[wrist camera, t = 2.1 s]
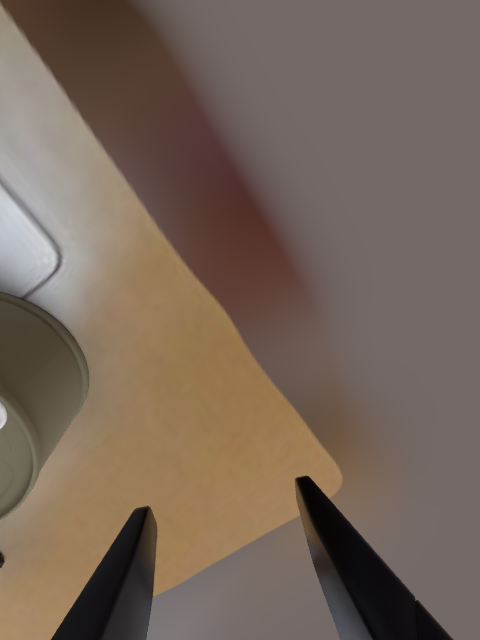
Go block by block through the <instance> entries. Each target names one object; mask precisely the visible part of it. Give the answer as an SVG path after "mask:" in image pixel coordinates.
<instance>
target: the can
mask: <svg viewBox="0 0 480 640" xmlns="http://www.w3.org/2000/svg"><path fill="white" fill-rule="evenodd" d="M88 387H89V373H88V368H87V364H86V360H85V358H84V355H83V353H82V351H81V349H80V347H79V346H78V344H77V343H76V341H75V340H74V338H73V337H72V336H71V335H70V333H69V332H68V331H67V330H66V329H65V328H64V327H63V326H62V325H61V324H60V323H59V322H58V321H57V320H55V319H54V318H53V317H52V316H50V315H49V314H48V313H46V312H44V311H43V310H41V309H40V308H38V307H36V306H34V305H32V304H31V303H29V302H26V301H24V300H22V299H19V298H17V297H14V296H11V295H8V294H4V293H0V520H2V519H3V518H5V517H6V516H8V515H9V514H11V513H12V512H13V511H14V510H15V509H17V508H18V507H19V506H20V505H21V504H22V502H23V501H24V500H25V499H26V497H27V496H28V494H29V493H30V491H31V490H32V488H33V487H34V485H35V482H36V480H37V478H38V475H39V472H40V470H41V468H42V467H43V465H44V464H45V462H46V461H47V459H48V457H49V456H50V454H51V453H52V451H53V450H54V448H55V447H56V445H57V443H58V442H59V440H60V439H61V437H62V436H63V434H64V433H65V431H66V430H67V428H68V427H69V425H70V423H71V422H72V420H73V419H74V417H75V416H76V415H77V413H78V412H79V410H80V409H81V407H82V405H83V403H84V401H85V399H86V396H87V392H88Z"/></svg>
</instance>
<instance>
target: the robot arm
mask: <svg viewBox="0 0 480 640" xmlns="http://www.w3.org/2000/svg"><path fill="white" fill-rule="evenodd" d="M295 488H296V499H297V503H298V507H299V511H300V515H301V519H302V523H303V526H304V531H305V534H306V538H307V542H308V546H309V550H310V553H311V557H312V561H313V564H314V567H315V570H316V573H317V576H318V579H319V581H320V584H321V587H322V590H323V593H324V595H325V598H326V601H327V604H328V606H329V609H330V612H331V615H332V617H333V620H334V623H335V626H336V628H337V631H338V634H339V637H340V640H453V638H452V637H451V636H450V635H449V634H448V633H447V632H446V631H445V630H444V629H443V628H442V626H441V625H440V624H439V623H438V622H437V621H436V620H435V619H434V618H433V617H432V615H431V614H430V613H429V612H428V611H427V610H426V609H425V608H424V606H423V605H422V604H421V603H420V602H419V601H418V600H416V601H415V596H414V595H413V594H412V593H411V592H410V591H409V590H408V588H407V587H406V586H405V585H404V584H403V583H402V581H401V580H400V579H399V578H398V577H397V576H396V575H395V573H394V572H393V571H392V570H391V569H390V568H389V567H388V566H387V564H386V563H385V562H384V561H383V560H382V559H381V558H380V556H379V555H378V554H377V553H376V552H375V551H374V550H373V549H372V547H371V546H370V545H369V544H368V543H367V542H366V541H365V540H364V538H363V537H362V536H361V535H360V534H359V533H358V531H357V530H356V529H355V528H354V527H353V526H352V525H351V524H350V522H349V521H348V520H347V519H346V518H345V517H344V516H343V514H342V513H341V512H340V511H339V510H338V509H337V508H336V507H335V506H334V504H333V503H332V502H331V501H330V500H329V499H328V497H327V496H326V495H325V494H324V493H323V492H322V491H321V489H320V488H319V487H318V486H317V485H316V484H315V483H314V481H313V480H312V479H311V478H310V477H309V476H301V477H297V478H296V479H295ZM156 543H157V523H156V520H155V518H154V515H153V512H152V510H151V508H150V507H149V506H145V507H140V508H136V509H135V510H134V511H133V513H132V514H131V516H130V517H129V519H128V520H127V522H126V523H125V525H124V527H123V528H122V530H121V531H120V533H119V534H118V536H117V538H116V539H115V541H114V542H113V544H112V545H111V547H110V548H109V550H108V552H107V553H106V555H105V556H104V558H103V559H102V561H101V562H100V564H99V566H98V567H97V569H96V570H95V572H94V573H93V575H92V576H91V578H90V580H89V581H88V583H87V584H86V586H85V587H84V589H83V590H82V592H81V594H80V595H79V597H78V598H77V600H76V601H75V603H74V604H73V606H72V608H71V609H70V611H69V612H68V614H67V615H66V617H65V618H64V620H63V622H62V623H61V625H60V626H59V628H58V629H57V631H56V633H55V634H54V636H53V637H52V639H51V640H146V638H147V631H148V625H149V618H150V611H151V605H152V597H153V585H154V571H155V557H156ZM4 562H5V561H4V559H3V558H2V556H1V555H0V568H1V567H2V565H3V564H4Z"/></svg>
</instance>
